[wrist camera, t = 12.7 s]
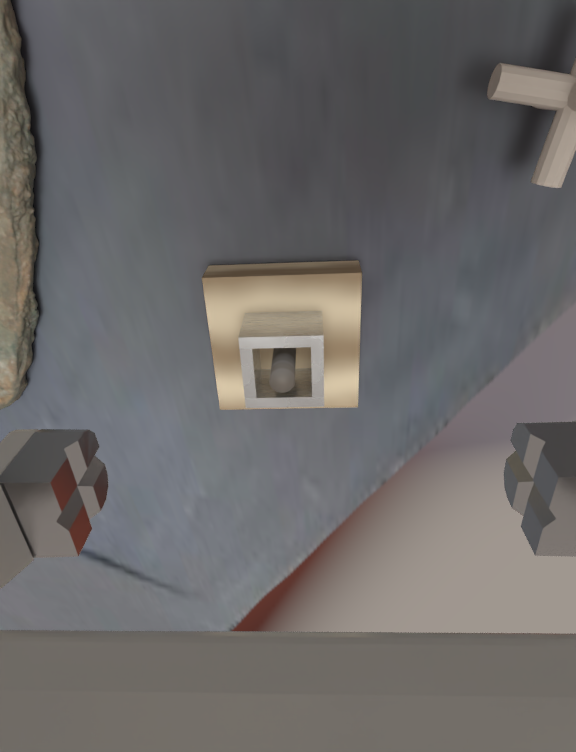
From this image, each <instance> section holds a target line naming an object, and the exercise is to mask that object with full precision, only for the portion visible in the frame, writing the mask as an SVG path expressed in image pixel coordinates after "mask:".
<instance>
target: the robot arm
mask: <svg viewBox="0 0 576 752" xmlns="http://www.w3.org/2000/svg"><path fill="white" fill-rule="evenodd" d="M511 442H512V444H513V446H514V448H515V449H516V451H515V452H514V453H513V454H512V455H511V456H510V457H508V458H507V459H506V464H505V470H504V485H505V491H506V494H507V498H508V500H509V502H510V505H511V507H512V508H513V509H514V510H516V511H517V512H518V513H520V514H521V515H523V516H524V517H523V520H522V525H521V527H522V529H523V532H524V534H525V536H526V537H527V540H528V541H529V544H530V546H531V548H532V550H533V552H534V554H535V555H540V556H541V555H543V556H576V421H572V422H547V423H517V425H516V426H515V428H514V429H513V433H512V437H511ZM98 448H99V444H98V441H97V438H96V435H95V433H94V432H92V431H90V430H65V429H41V430H38V429H33V430H15V431H12V432H9V434H8V435H7V436H6V437H5V438H4V439H3V440H2V442H1V443H0V589H1V588H2V587H3V586H5V585H6V584H7V583H8V582H9V581H10V580H12V579H13V578H14V577H15V576H16V575H17V574H18V573H20V572H21V571H22V570H23V569H24V568H25V567H27V566H28V565H29V564H30V563H31V562H32V561H33V560H34V558H42V557H74V556H79V554H80V552H81V550H82V548H83V546H84V544H85V542H86V540H87V538H88V536H89V534H90V532H91V530H92V527H91V524H90V521H89V519H91V518H92V517H93V516H95V515H96V514H97V513H99V512H100V511H101V509H102V507H103V505H104V503H105V501H106V497H107V491H108V474H107V470H106V467H105V464H104V463H103V462H101V461H100V460H99V459H98V458H97V457H96V456H95V454H96V452H97V450H98ZM0 752H576V634H542V633H393V632H388V633H387V632H230V631H64V630H0Z"/></svg>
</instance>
